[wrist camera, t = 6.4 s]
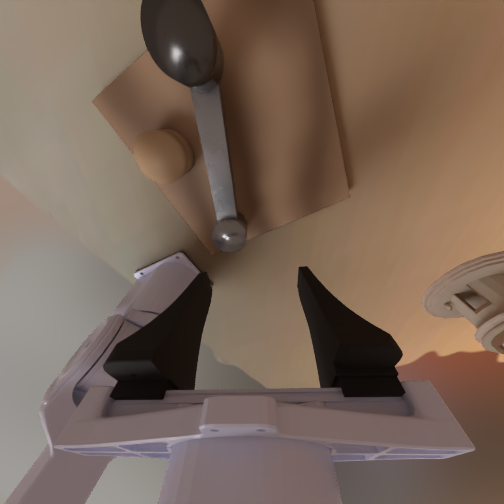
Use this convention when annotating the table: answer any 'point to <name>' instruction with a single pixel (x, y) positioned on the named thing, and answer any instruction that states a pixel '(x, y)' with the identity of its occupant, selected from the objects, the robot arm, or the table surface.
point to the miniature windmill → (473, 298)
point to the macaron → (163, 155)
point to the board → (247, 117)
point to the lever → (199, 98)
